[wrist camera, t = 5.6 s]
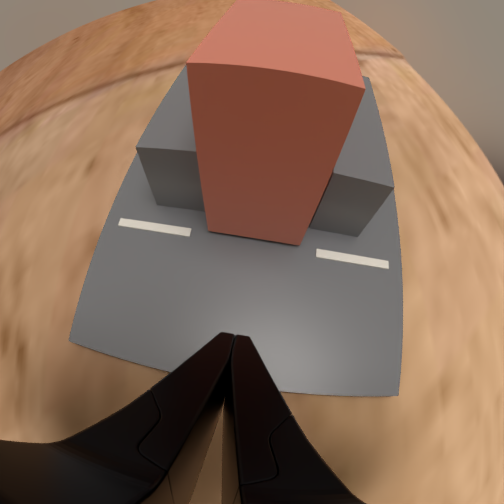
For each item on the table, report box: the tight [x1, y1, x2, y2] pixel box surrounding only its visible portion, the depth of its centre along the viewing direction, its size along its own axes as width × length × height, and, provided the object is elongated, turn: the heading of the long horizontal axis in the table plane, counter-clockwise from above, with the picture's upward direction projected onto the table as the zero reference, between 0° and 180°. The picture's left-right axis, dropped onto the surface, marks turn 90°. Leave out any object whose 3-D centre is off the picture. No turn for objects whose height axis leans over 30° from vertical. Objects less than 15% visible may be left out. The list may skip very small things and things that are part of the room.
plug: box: [186, 0, 366, 246], centre depth 13 cm, size 8×5×10 cm, turn 171°
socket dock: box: [69, 66, 403, 396], centre depth 15 cm, size 20×18×6 cm
